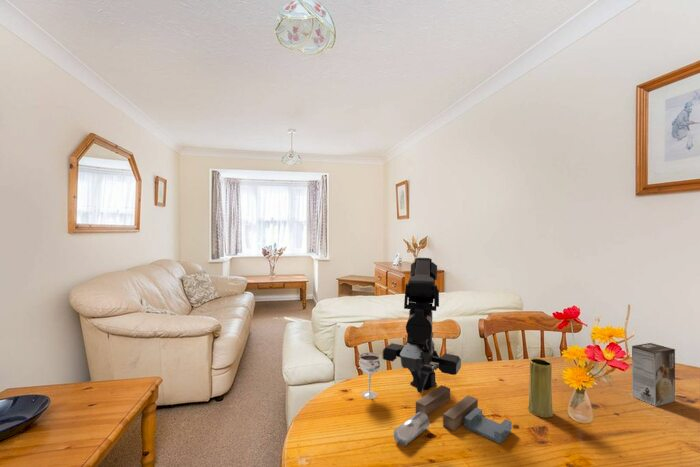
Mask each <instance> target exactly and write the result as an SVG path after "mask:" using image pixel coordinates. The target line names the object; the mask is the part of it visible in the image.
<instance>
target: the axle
mask: <svg viewBox="0 0 700 467" xmlns="http://www.w3.org/2000/svg"><path fill="white" fill-rule="evenodd" d="M429 418H430V417H429V416H427V415H426V414H425V413H423V412H418V413H415V414H414V415H413V416H411V417H410V418H408V419H407V420H405V421H404V422H402V423H401V424H400V425H398V427H395V429H394V430H393V438H394V440H395V442H396V443H397V444H398V445H400V446H401V447H406V446H407V445H408V444H410V443H411V442H412V441H413V440H414V439H416V438H417V437H418V436H419V435H421V434H422V433H423V432H424V431H426V429H428V428H429V427H430V424H431V423H430V419H429Z"/></svg>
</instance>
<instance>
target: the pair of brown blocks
mask: <svg viewBox="0 0 700 467" xmlns="http://www.w3.org/2000/svg"><path fill="white" fill-rule="evenodd" d="M450 400H451V387H447V386H446V385H442V384H441V385H439V386H438V387H436V388H435V389H433V390H432V391H430V392H428V393H427V394H425V395H424V396H422V397H421V398H419V399H418V400H416V401H415V414H417V413H418V412H423V413H425V414H426V415H427V417H429V415H430V414H432V413H433V412H434V411H436V410H437V409H438V408H441V406H443V405H444V404H445V403H447V402H448V401H450ZM478 404H479V399H478V398H476V397H474V396H471V395H466V396H465V397H463V398H462V399H461V400H459V401H458V402H457V403H456V404H454V405H453V406H452V407H451V408H449V409H448V410H446V411H445V412H444V413H443V414H442V426H443V427H444V428H446V429H449V430H450V431H453V432H455V431H456V430H457V429H458V428H459V427H461V426H462V425H463V424H464V423H465V417H466V416H467V415H468V414H469V413H470V412H472V411H473V410H474V409H475V408H476V407H477V408H479V405H478Z"/></svg>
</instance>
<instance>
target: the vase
mask: <svg viewBox="0 0 700 467" xmlns="http://www.w3.org/2000/svg"><path fill="white" fill-rule="evenodd" d="M528 388H529V389H528V406H527V410H528V411H529V412H530V413H531V414H532V415H534V416H537V417H538V418H539V417H540V418H545V419H549V418H552V417H553V416H554V411H553V395H552V394H553V392H552V389H553V387H552V362H550V361H548V360H546V359H542V358H531V359H530V360H529V386H528Z"/></svg>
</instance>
